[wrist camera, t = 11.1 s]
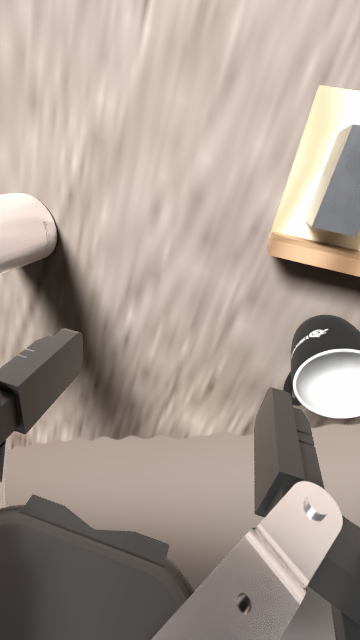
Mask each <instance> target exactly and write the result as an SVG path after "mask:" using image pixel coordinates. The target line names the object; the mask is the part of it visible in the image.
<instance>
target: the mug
mask: <svg viewBox="0 0 360 640" xmlns="http://www.w3.org/2000/svg"><path fill="white" fill-rule="evenodd" d="M292 388H293V390H294V393H295V395H296V398H292ZM283 391H285V392H289V393H290V394H291V399H292V405H296V406H300V405H303V406H305V407H306V408H307V409H309V410H310V411H312V412H314V413H316V414H319V415H322V416H325V417H330V418H353V417H358V416H360V332H359V331H358V330H357V329H356V328H355V327H354V326H353V325H351V324H350V323H349V322H347V321H346V320H344V319H342V318H339V317H336V316H332V315H319V316H315V317H312V318H310V319H308V320H306V321H305V322H303V323H302V324H301V325H300V326H299V328H298V329H297V331H296V333H295V335H294V338H293V342H292V348H291V372H290V373H289V375H288V377H287V379H286V381H285V384H284V389H283Z"/></svg>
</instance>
